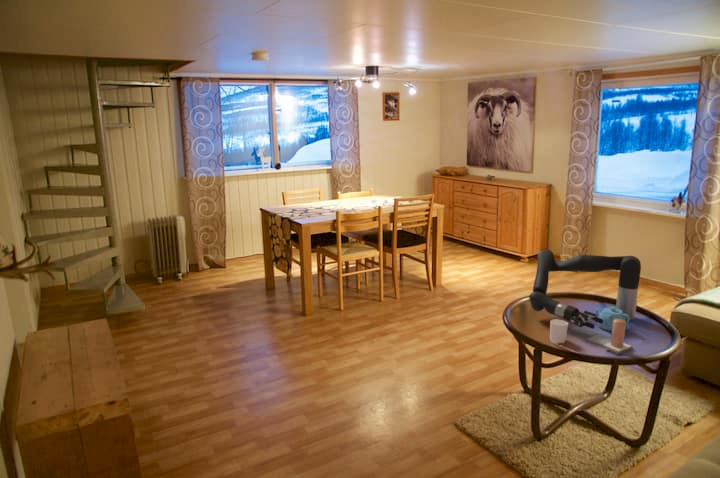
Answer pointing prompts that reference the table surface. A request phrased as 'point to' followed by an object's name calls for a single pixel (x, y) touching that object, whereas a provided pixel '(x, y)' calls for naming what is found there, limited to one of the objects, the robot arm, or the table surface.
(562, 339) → the white cup
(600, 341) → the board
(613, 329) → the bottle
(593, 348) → the table surface
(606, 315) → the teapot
